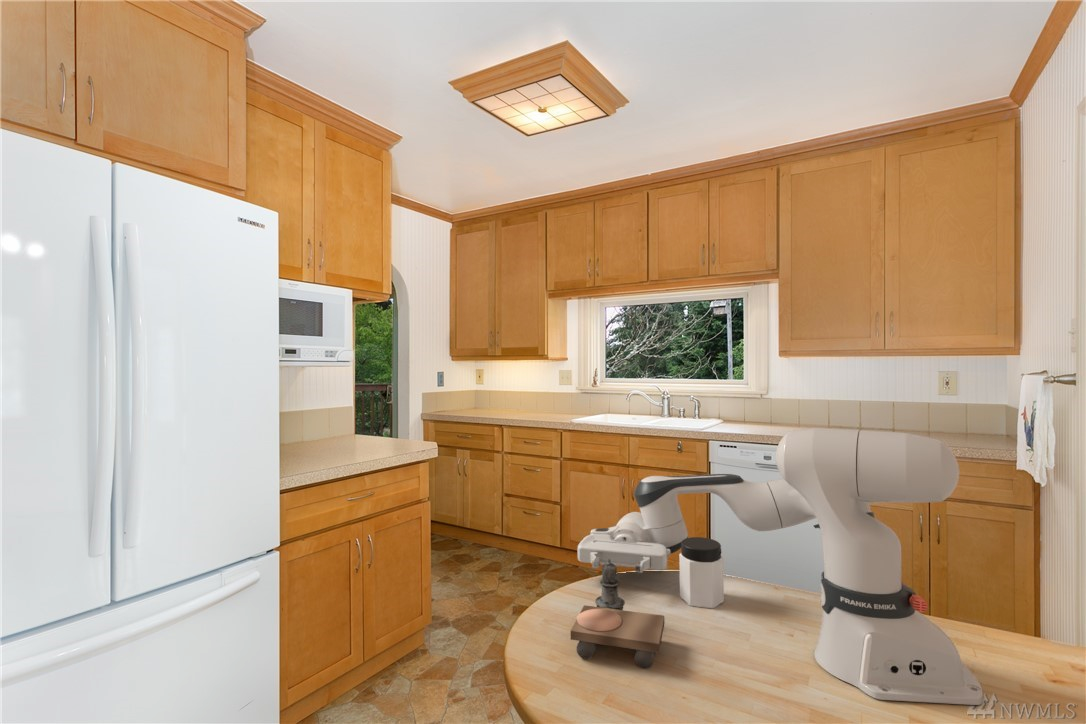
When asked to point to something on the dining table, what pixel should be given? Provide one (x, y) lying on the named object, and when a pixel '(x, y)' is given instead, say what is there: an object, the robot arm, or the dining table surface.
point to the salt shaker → (609, 588)
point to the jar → (701, 572)
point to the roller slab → (618, 632)
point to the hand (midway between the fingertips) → (616, 566)
